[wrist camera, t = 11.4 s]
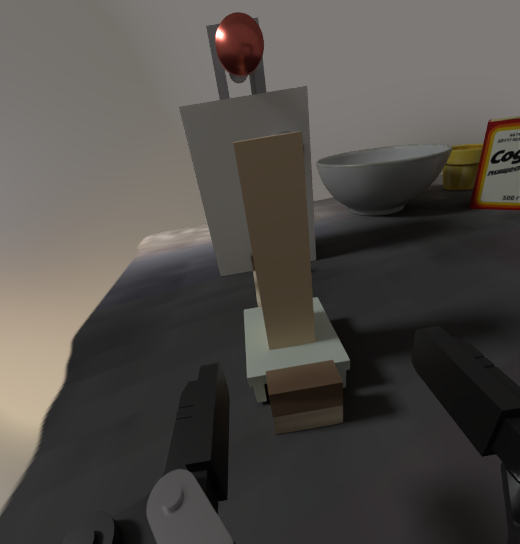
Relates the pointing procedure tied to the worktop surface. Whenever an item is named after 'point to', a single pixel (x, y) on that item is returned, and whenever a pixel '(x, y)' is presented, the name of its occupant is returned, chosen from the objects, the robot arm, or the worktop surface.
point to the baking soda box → (499, 167)
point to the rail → (304, 393)
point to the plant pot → (462, 167)
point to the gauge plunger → (239, 45)
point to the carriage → (281, 263)
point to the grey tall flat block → (222, 162)
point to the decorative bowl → (382, 176)
